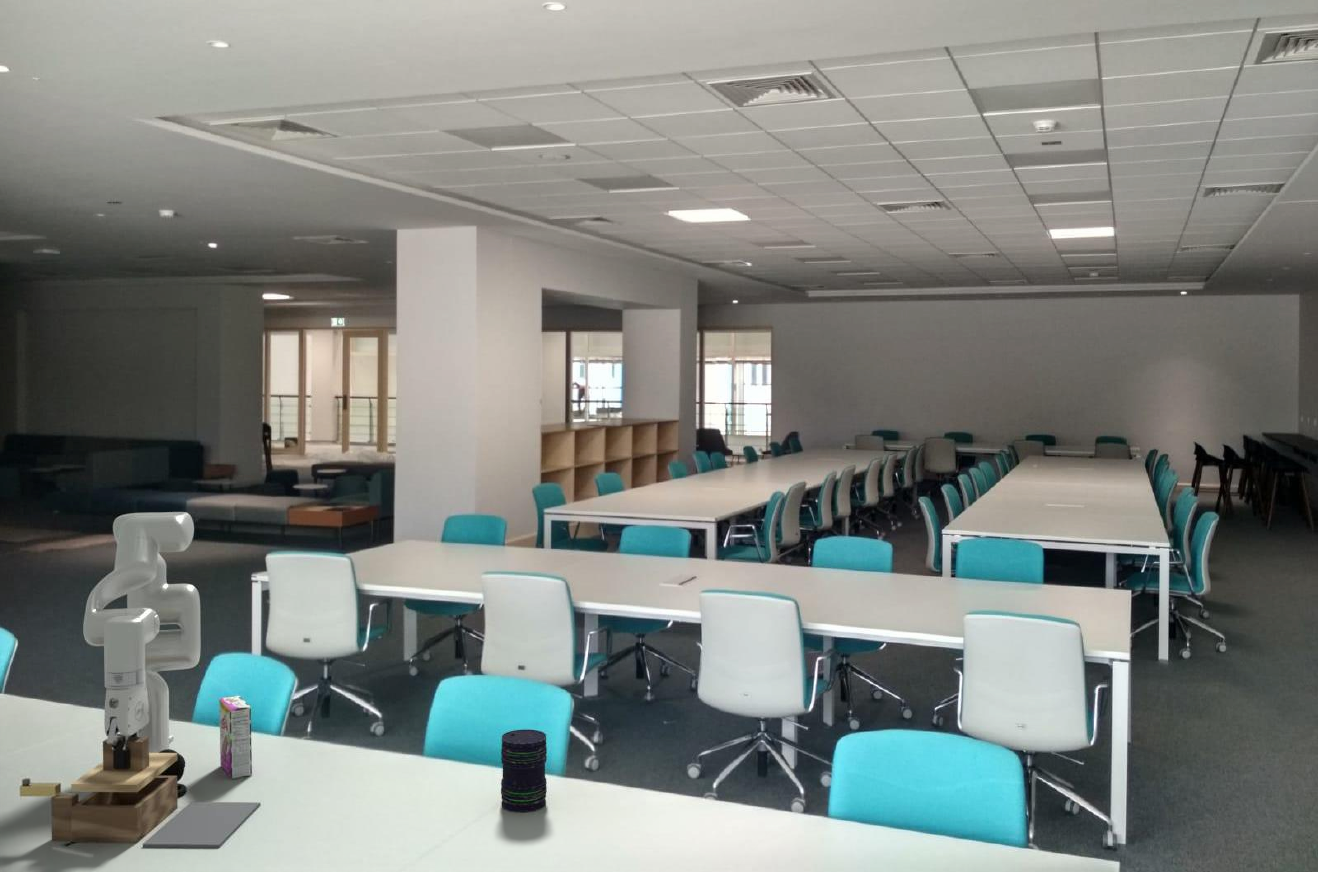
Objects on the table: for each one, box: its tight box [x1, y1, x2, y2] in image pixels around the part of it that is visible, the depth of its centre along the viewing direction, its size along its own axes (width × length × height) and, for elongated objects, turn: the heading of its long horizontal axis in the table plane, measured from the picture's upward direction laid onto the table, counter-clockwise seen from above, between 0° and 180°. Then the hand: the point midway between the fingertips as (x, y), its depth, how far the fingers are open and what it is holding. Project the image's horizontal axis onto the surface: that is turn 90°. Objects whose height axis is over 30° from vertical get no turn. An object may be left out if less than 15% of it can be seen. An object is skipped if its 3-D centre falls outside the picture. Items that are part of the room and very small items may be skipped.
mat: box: [142, 801, 262, 849], centre depth 225 cm, size 22×15×1 cm
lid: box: [70, 737, 178, 793], centre depth 225 cm, size 18×13×8 cm
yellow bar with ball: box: [19, 777, 62, 798], centre depth 218 cm, size 2×7×3 cm, turn 90°
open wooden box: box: [50, 776, 179, 844], centre depth 225 cm, size 18×17×8 cm
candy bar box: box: [218, 695, 253, 780], centre depth 257 cm, size 11×5×16 cm, turn 34°
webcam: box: [158, 748, 188, 798], centre depth 242 cm, size 8×8×10 cm
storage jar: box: [500, 728, 548, 814], centre depth 238 cm, size 10×10×15 cm
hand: (126, 764), depth 225 cm, fingers closed on lid, 3 cm apart
